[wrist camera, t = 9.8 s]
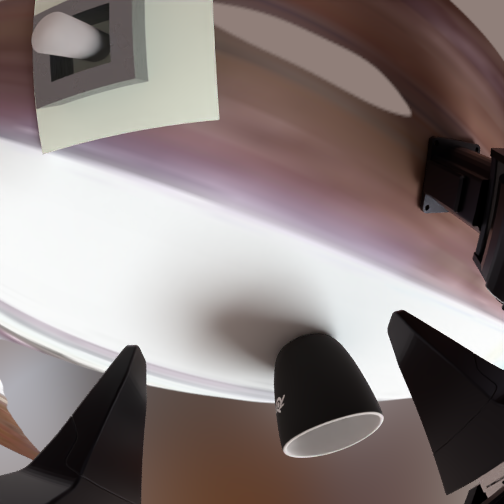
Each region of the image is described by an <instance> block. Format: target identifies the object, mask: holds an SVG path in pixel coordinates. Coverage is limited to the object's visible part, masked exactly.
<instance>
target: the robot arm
mask: <svg viewBox="0 0 504 504" xmlns="http://www.w3.org/2000/svg"><path fill="white" fill-rule="evenodd" d="M435 141H436V143H435V145H434V142H435ZM490 156H491V158H489V157H486V156H484V155H482V154H480V146H479V145H477V144H475V143H470V142H465V141H460V140H454V139H448V138H443V137H436V136H432V137H431V138H430V140H429V147H428V157H427V165H426V173H425V180H424V187H423V193H422V199H421V205H420V209H421V210H422V211H423V212H424V213H440V212H451V213H452V214H453V215H455V216H456V217H458V218H459V219H461V220H462V221H463V222H465V223H466V224H467V225H469V226H470V227H472V228H473V229H474V230H476V231H477V232H478V233H480V235H479V240H478V244H477V248H476V252H474V255H473V261H474V262H475V264H476V266H477V267H478V269H479V271H480V272H481V274H482V276H483V278H484V280H485V281H486V288H487V289H488V290H489V292H490V293H491V294H492V295H493V296H494V297H495V298H496V299H497V300H498V301H499V302H501V303H502V304H503V305H502V309H503V310H504V148H491V155H490ZM426 205H427V206H426ZM425 207H426V208H425ZM388 335H389V338H390V341H391V344H392V347H393V350H394V353H395V356H396V359H397V362H398V365H399V368H400V370H401V373H402V375H403V377H404V379H405V382H406V384H407V386H408V389H409V391H410V394H411V396H412V399H413V401H414V403H415V406H416V408H417V411H418V414H419V416H420V419H421V421H422V424H423V427H424V429H425V432H426V435H427V437H428V440H429V443H430V446H431V449H432V452H433V453H434V454H433V455H434V457H435V461H436V464H437V467H438V470H439V473H440V476H441V479H442V482H443V486H444V489H445V493H446V495H448V494H450V493H452V492H454V491H456V490H458V489H460V488H462V487H464V486H465V485H467V484H469V483H471V482H473V481H474V480H476V479H478V480H479V484H478V485H476V486H475V487H473V488H472V489H470V490H469V493H468V495H467V498H466V501H465V503H464V504H504V370H502V369H500V368H498V367H496V366H495V365H493V364H491V363H489V362H488V361H486V360H484V359H483V358H481V357H479V356H478V355H476V354H474V353H473V352H471V351H470V350H468V349H467V348H465V347H463V346H462V345H460V344H459V343H457V342H455V341H454V340H452V339H451V338H449V337H447V336H446V335H444V334H442V333H441V332H439V331H438V330H436V329H434V328H433V327H431V326H429V325H428V324H426V323H424V322H423V321H421V320H420V319H418V318H416V317H415V316H413V315H411V314H410V313H408V312H406V311H404V310H399V311H395V312H394V313H393V314H392V316H391V319H390V322H389V325H388ZM145 416H146V361H145V359H144V356H143V354H142V352H141V350H140V348H139V346H137V345H127V346H126V347H125V348H124V349H123V350H122V351H121V353H120V354H119V355H118V356H117V358H116V359H115V360H114V361H113V363H112V364H111V365H110V366H109V368H108V369H107V370H106V371H105V373H104V374H103V375H102V377H101V378H100V379H99V380H98V382H97V383H96V384H95V385H94V387H93V388H92V389H91V391H90V392H89V393H88V394H87V396H86V397H85V398H84V400H83V401H82V402H81V404H80V405H79V406H78V407H77V409H76V410H75V412H74V413H73V414H72V416H71V417H70V418H69V419H68V421H67V422H66V423H65V425H64V426H63V427H62V428H61V430H60V431H59V432H58V434H57V435H56V436H55V437H54V438H53V439H52V440H51V441H50V443H49V444H48V445H47V446H46V447H45V448H44V449H43V450H42V451H41V452H40V453H39V454H38V455H37V457H36V458H35V459H34V460H33V461H32V462H31V463H30V464H29V465H28V466H26V467H25V468H23V469H21V470H19V471H16V472H12V473H9V474H5V475H1V476H0V504H141V483H142V482H141V481H142V457H143V440H144V428H145Z"/></svg>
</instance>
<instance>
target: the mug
mask: <svg viewBox="0 0 504 504" xmlns="http://www.w3.org/2000/svg"><path fill="white" fill-rule="evenodd" d="M274 393H275V405H276V415H277V423H278V430H279V436H280V441H281V445H282V449H283V452H284V453H285V454H287V455H288V456H291V457H299V458H304V457H305V458H306V457H316V456H321V455H326V454H330V453H333V452H336V451H339V450H342V449H345V448H347V447H350V446H352V445H354V444H356V443H358V442H359V441H362V440H363V439H365V438H366V437H368V436H369V435H371V434H372V433H373V432H374V431H376V430H377V429H378V428H379V426H380V425H381V424H382V422H383V414H382V411H381V409H380V406H379V404H378V402H377V400H376V398H375V396H374V394H373V392H372V390H371V388H370V386H369V385H368V383H367V381H366V379H365V378H364V376H363V374H362V373H361V371H360V369H359V368H358V366H357V365H356V363H355V362H354V360H353V359H352V357H351V356H350V355H349V353H348V352H347V351H346V350H345V348H344V347H343V346H342V345H341V344H340V343H339V342H338V341H337V340H335V339H334V338H332V337H330V336H328V335H324V334H309V335H305V336H302V337H299V338H297V339H295V340H293V341H291V342H290V343H288V344H287V345H286V346H285V347H284V348H283V349H282V350H281V351H280V353H279V355H278V357H277V360H276V363H275V370H274Z"/></svg>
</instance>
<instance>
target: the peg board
mask: <svg viewBox="0 0 504 504" xmlns="http://www.w3.org/2000/svg"><path fill="white" fill-rule="evenodd" d="M65 1H67V0H35V10H34V16H35V15H37V14H39V13H41V12H43V11H45V10H47V9H49V8H51V7H54V6H56V5H58V4H60V3H62V2H65ZM145 35H146V54H147V69H148V82H143V83H138V84H133V85H129V86H124V87H120V88H116V89H112V90H108V91H105V92H101V93H97V94H94V95H91V96H87V97H84V98H81V99H78V100H74V101H71V102H68V103H66V104H63V105H59V106H52V107H47V108H41V109H36V113H37V121H38V128H39V135H40V141H41V147H42V152H43V154H46V153H49V152H52V151H56V150H59V149H62V148H66V147H69V146H73V145H77V144H80V143H84V142H88V141H92V140H96V139H101V138H105V137H109V136H114V135H119V134H124V133H129V132H134V131H139V130H145V129H151V128H157V127H163V126H170V125H177V124H184V123H192V122H201V121H211V120H219V108H218V92H217V76H216V58H215V39H214V19H213V0H145ZM31 42H32V47H33V49H34V50H35V51H36V52H38V53H43V54H50V55H57V56H63V57H69V58H73V66H74V74H75V73H78V72H80V71H83V70H87V69H90V68H93V67H96V66H99V65H103V64H106V63H110V62H111V57H110V31H109V20H107V21H104V22H101V23H98V24H95V25H92V26H91V25H89V24H87V23H85V22H83V21H80V20H78V19H76V18H74V17H72V16H69V15H67V14H65V13H62V12H53V13H50V14H48V15H46V16H45V17H44V18H43V19H42V20H41V21H40V22H39V23H38V24H37V26H36V27H35V29H34V31H33V34H32V40H31ZM33 78H34V76H33ZM34 93H35V90H34ZM35 104H36V101H35Z"/></svg>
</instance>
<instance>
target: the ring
mask: <svg viewBox="0 0 504 504" xmlns="http://www.w3.org/2000/svg"><path fill="white" fill-rule="evenodd" d="M53 12H62V13H65V14H67V15H69V16H72V17H74V18H76V19H78V20H80V21H83V22H85V23H87V24H89V25H91V26H92V25H95V24H98V23H101V22H104V21H107V20H109V31H110V57H111V62H110V63H106V64H103V65H99V66H96V67H93V68H90V69H87V70H83V71H80V72H78V73H75V74H74V66H73V58H69V57H63V56H57V55H50V54H43V53H38V52H36V51H35V50H34V49H33V76H34V90H35V101H36V109H41V108H47V107H52V106H59V105H63V104H66V103H68V102H71V101H74V100H78V99H81V98H84V97H87V96H91V95H94V94H97V93H101V92H105V91H108V90H112V89H116V88H120V87H124V86H129V85H133V84H138V83H143V82H148V69H147V54H146V35H145V0H67V1H65V2H62V3H60V4H58V5H56V6H54V7H51V8H49V9H47V10H45V11H43V12H41V13H39V14H37V15H35V16H34V19H33V31H34V29H35V27H36V26H37V24H38V23H39V22H40V21H41V20H42V19H43V18H44V17H45V16H46V15H48V14H50V13H53Z"/></svg>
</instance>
